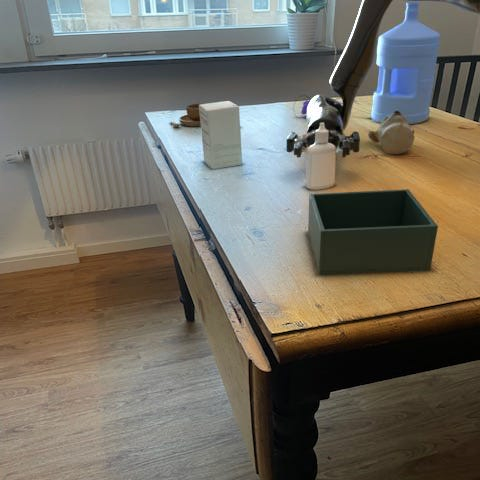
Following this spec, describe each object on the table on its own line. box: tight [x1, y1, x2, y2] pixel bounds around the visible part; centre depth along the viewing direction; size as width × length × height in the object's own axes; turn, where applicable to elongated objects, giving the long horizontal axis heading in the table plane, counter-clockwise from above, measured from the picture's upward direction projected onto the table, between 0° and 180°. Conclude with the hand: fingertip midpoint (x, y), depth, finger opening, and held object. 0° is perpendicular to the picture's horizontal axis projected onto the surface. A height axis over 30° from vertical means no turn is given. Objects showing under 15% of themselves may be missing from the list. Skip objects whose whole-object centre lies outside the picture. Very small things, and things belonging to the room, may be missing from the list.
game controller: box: [292, 95, 313, 119], centre depth 147 cm, size 10×8×10 cm
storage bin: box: [307, 188, 439, 276], centre depth 73 cm, size 15×14×7 cm
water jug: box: [370, 1, 441, 126], centre depth 134 cm, size 16×16×28 cm
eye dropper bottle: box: [305, 123, 337, 191], centre depth 96 cm, size 4×6×12 cm
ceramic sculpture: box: [368, 111, 415, 155], centre depth 116 cm, size 11×9×15 cm
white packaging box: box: [199, 100, 243, 170], centre depth 112 cm, size 7×7×13 cm
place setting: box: [170, 103, 202, 128], centre depth 147 cm, size 18×20×6 cm
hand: (321, 152), depth 94 cm, fingers open, 8 cm apart
